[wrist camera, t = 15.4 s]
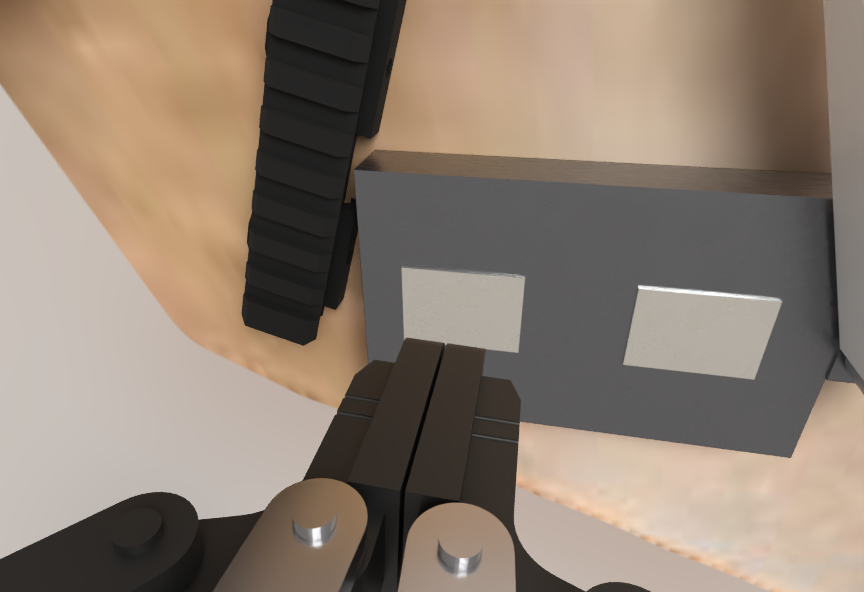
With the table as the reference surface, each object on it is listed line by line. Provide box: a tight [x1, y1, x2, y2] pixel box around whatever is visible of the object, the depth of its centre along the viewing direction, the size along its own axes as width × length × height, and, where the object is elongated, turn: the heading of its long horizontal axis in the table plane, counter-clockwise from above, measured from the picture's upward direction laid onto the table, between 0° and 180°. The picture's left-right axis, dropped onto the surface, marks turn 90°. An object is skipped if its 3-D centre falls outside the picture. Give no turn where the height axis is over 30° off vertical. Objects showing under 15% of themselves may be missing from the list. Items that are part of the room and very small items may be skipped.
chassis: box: [354, 150, 855, 458], centre depth 33 cm, size 30×16×4 cm, turn 90°
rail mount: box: [242, 0, 406, 346], centre depth 32 cm, size 21×6×5 cm, turn 165°
